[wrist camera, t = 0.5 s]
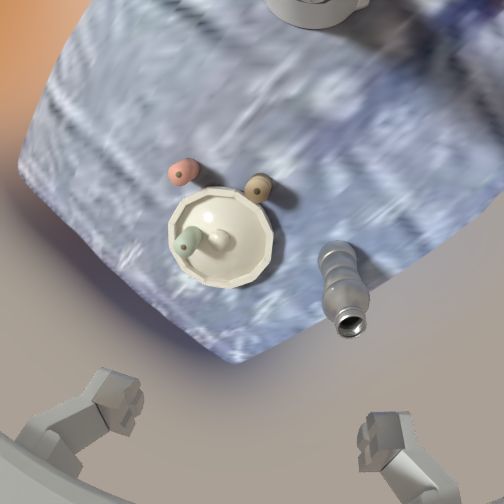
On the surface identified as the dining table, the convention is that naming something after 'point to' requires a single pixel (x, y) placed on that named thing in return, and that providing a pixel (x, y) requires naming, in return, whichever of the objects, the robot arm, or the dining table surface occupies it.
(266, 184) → the bead
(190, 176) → the bead
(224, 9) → the dining table surface
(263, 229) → the tray
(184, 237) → the bead
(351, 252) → the silver metal bottle
